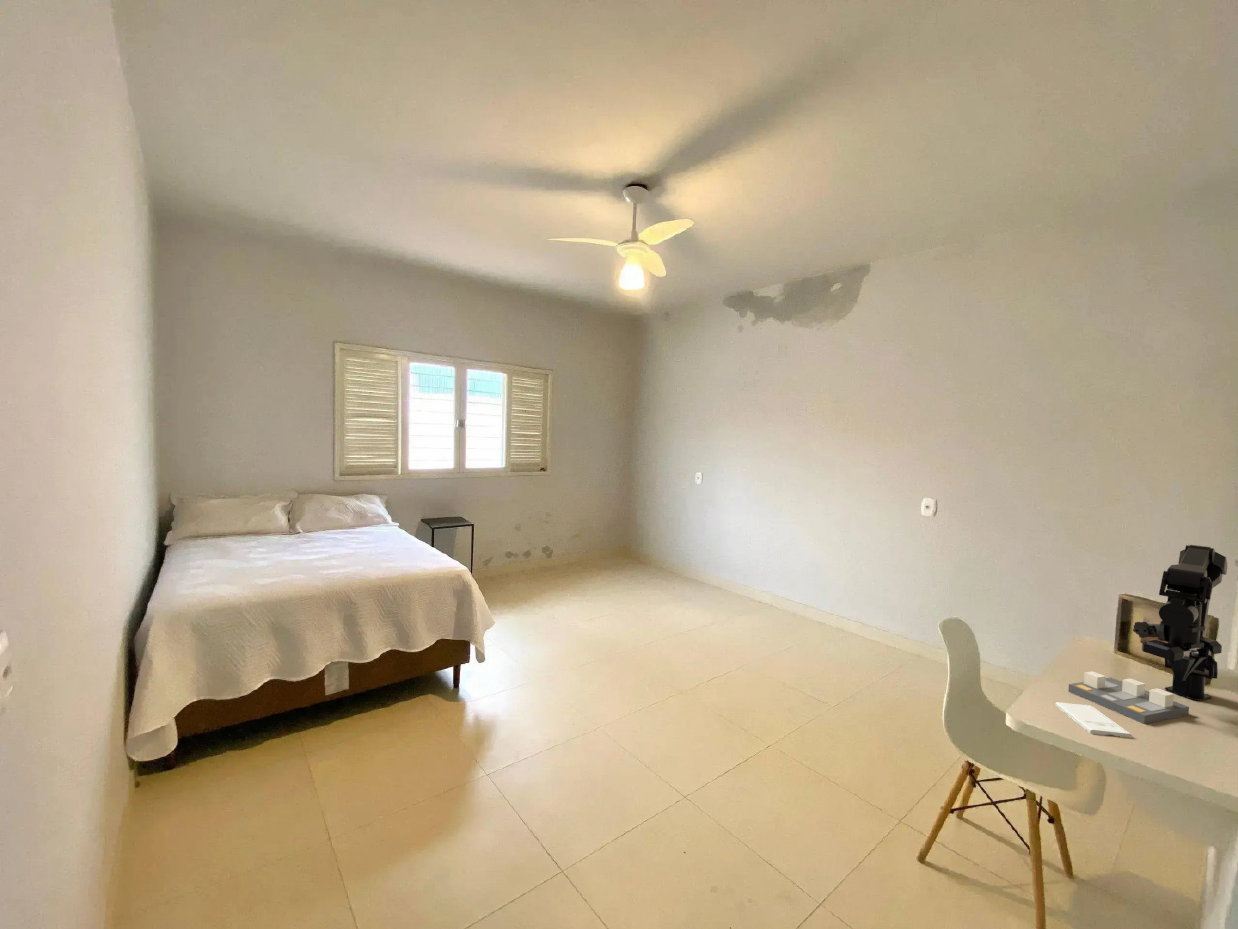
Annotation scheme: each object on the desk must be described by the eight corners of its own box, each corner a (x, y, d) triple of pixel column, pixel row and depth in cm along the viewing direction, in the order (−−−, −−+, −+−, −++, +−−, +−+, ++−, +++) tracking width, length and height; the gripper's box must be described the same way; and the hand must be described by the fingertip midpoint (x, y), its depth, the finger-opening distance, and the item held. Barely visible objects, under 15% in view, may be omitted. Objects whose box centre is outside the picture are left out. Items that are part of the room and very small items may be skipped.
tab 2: (1129, 689, 133) (1130, 678, 132) (1144, 695, 130) (1145, 683, 130) (1121, 691, 132) (1122, 679, 132) (1136, 696, 129) (1137, 685, 129)
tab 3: (1157, 700, 127) (1157, 688, 127) (1172, 706, 124) (1173, 694, 124) (1148, 701, 126) (1149, 689, 126) (1164, 707, 124) (1165, 695, 123)
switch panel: (1110, 684, 140) (1110, 677, 140) (1188, 714, 125) (1189, 706, 124) (1068, 691, 136) (1068, 683, 136) (1144, 723, 120) (1144, 715, 120)
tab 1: (1091, 682, 136) (1092, 671, 136) (1104, 687, 134) (1105, 676, 133) (1083, 683, 136) (1084, 672, 136) (1096, 688, 133) (1097, 677, 133)
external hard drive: (1092, 712, 127) (1132, 740, 114) (1054, 708, 128) (1089, 735, 116) (1092, 705, 126) (1132, 733, 114) (1055, 701, 128) (1090, 729, 116)
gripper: (1166, 606, 136) (1162, 662, 137) (1118, 611, 131) (1114, 670, 132) (1225, 620, 126) (1220, 681, 127) (1174, 627, 121) (1170, 691, 122)
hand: (1179, 680), depth 127 cm, fingers closed
